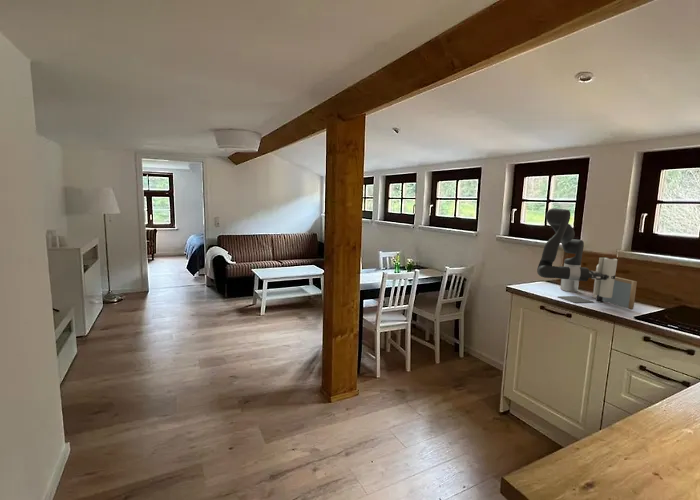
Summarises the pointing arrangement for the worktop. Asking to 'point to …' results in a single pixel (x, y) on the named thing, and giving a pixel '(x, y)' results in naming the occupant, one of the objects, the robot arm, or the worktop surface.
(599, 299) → the post
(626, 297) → the picture frame
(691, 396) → the worktop surface
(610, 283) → the white carton
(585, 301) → the mat
